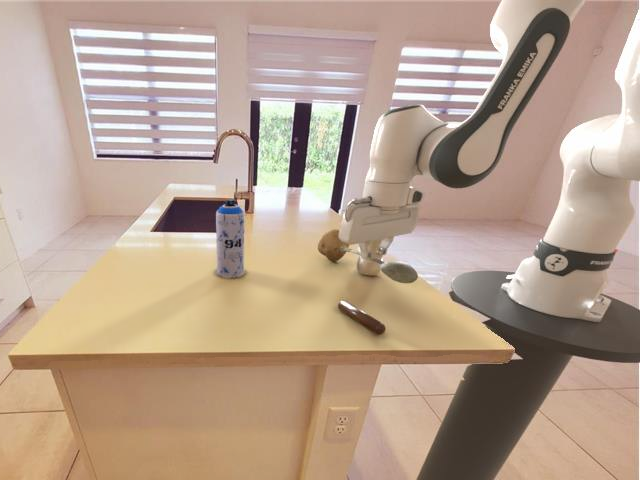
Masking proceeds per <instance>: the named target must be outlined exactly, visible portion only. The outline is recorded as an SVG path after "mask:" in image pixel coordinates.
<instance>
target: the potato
mask: <svg viewBox="0 0 640 480" xmlns="http://www.w3.org/2000/svg"><path fill="white" fill-rule="evenodd" d="M339 230H340V229H336V228H335V229H330V230H328V231H325V232H324V234H323V235H322V236H321V238H320V240H319V241H318V244H317V250H318V253H319V254H321V255H323V256H324V257H325V258H326V259H327V260H328V261H330V262H334V263H335V262H338V261H339V260H341V259H342V258H343V257H344V256H345V255H346V253H347V251H346V252H344V253H343V252H341V247H342V246H346V247H347V248H350V245H349V244H346V243H344V242H342V241H340V239H339Z"/></svg>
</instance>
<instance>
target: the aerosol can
mask: <svg viewBox="0 0 640 480" xmlns="http://www.w3.org/2000/svg"><path fill="white" fill-rule="evenodd" d="M245 214H246V213H245V211H244V210H243V209H242V207H241V206H239V205H238V204H236V201H235V199H225V204H223V205H221V206H220V207H219V208H218V209H217V210H216V212H215V230H216V231H215V235H216V274H217V276H219V277H222V278H225V279H235V278H240V277H242V276H243V275H245V228H246V227H245V225H246V223H245V222H246V220H245V219H246V215H245Z"/></svg>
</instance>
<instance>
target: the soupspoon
mask: <svg viewBox="0 0 640 480" xmlns="http://www.w3.org/2000/svg"><path fill="white" fill-rule="evenodd" d="M346 251H347V252H348V253H353V254H355V255H358V256H360V253H361V251H356V250H353V248H350V247H348V248H347V247H346V246H342V247H341V252H343V253H344V252H346ZM347 252H346V253H347ZM369 259H371V260H373V261H375V262H377V263H379V264H381V266H380V269H381V271H380V272H382V273H383V274H384V275H385V276H387V277H388V279H391V280H392V281H395V282H398V283H400V284H413V283H415V282H416V281H417V280H418V277H419V275H418V272H417V271H416V270H415V268H414V267H413V266H411V265H410V264H408V263H406V262H403V261H398V260H391V261H387V262H385V261H384V260H382V261H381V260H379V259H376V258H374V257H371V258H369Z"/></svg>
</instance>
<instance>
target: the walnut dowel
mask: <svg viewBox="0 0 640 480" xmlns="http://www.w3.org/2000/svg"><path fill="white" fill-rule="evenodd" d="M337 308H338V309H339V310H340V311H341V312H342V313H344V314H345V315H347V316H348V317H350V318H351V319H352V320H355V321H356V322H358V323H359V324H360V325H362V326H363V327H365V328H366V329H368V330H370V331H371V332H373V333H374V334H376V335H383V334H385V332H386V330H387V327H386V324H384V323H383V322H381V321H379V320H378V319H377V318H375V317H373V316H372V315H370V314H368V313H366V312H365V311H363V310H362V309H360V308H359V307H357V306H355V305H354V304H352V303H350V302H348V301H347V300H344V299H342V300H340V301H339V302H338V303H337Z"/></svg>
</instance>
